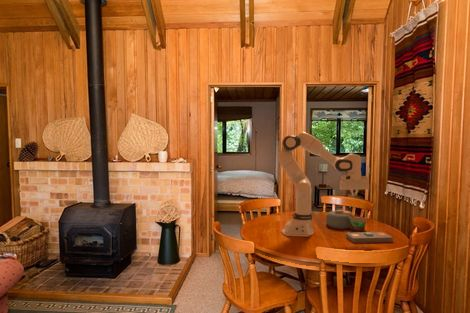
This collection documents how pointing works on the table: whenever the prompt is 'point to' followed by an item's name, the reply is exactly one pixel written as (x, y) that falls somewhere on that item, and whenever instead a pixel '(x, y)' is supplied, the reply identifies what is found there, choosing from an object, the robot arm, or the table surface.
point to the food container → (357, 223)
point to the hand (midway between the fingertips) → (354, 195)
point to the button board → (369, 237)
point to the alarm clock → (339, 219)
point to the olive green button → (368, 234)
